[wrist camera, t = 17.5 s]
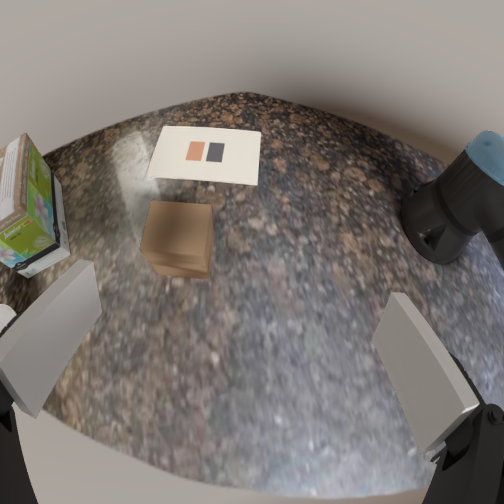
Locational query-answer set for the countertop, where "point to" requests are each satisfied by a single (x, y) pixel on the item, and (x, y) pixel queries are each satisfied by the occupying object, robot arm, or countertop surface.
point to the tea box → (30, 210)
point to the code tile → (206, 155)
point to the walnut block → (179, 239)
